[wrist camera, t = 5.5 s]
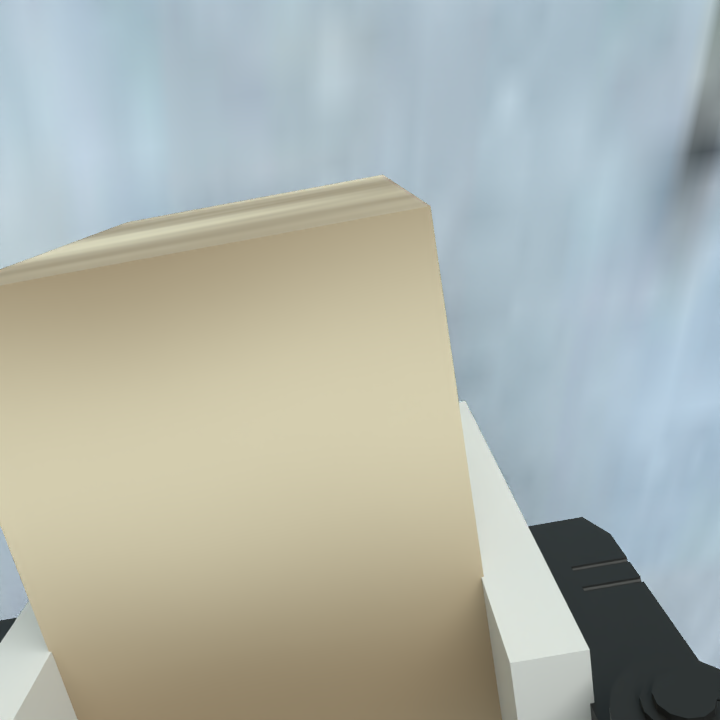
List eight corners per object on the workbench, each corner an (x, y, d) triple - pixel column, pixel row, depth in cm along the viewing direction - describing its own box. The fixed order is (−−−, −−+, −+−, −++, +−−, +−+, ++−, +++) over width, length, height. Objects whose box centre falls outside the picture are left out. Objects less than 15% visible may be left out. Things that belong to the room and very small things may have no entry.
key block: (459, 643, 16) (543, 985, 10) (253, 678, 17) (197, 1038, 10) (382, 174, 13) (430, 205, 6) (127, 222, 13) (-86, 301, 7)
